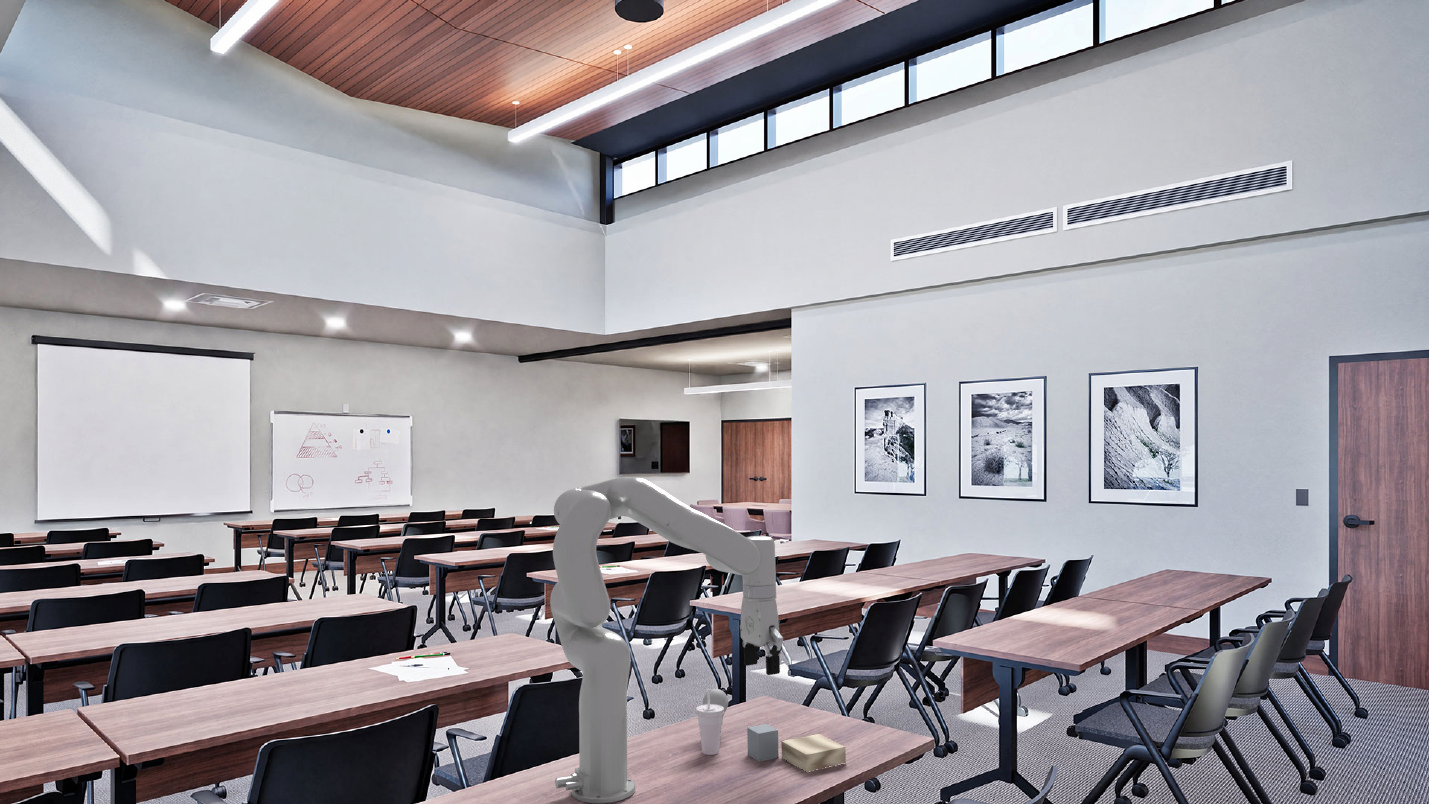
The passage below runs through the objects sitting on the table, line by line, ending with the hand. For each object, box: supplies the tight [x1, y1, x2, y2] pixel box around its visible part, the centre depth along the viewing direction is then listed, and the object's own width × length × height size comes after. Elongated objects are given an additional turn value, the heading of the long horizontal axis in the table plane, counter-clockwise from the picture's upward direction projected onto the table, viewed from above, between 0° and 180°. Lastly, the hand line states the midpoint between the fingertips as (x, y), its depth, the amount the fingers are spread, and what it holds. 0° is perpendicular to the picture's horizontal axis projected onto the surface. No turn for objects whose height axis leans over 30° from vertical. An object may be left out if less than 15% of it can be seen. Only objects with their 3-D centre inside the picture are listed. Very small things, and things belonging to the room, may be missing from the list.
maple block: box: [780, 733, 847, 773], centre depth 184 cm, size 10×10×4 cm
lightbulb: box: [702, 688, 729, 722], centre depth 201 cm, size 6×6×11 cm
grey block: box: [746, 723, 780, 763], centre depth 187 cm, size 5×5×6 cm
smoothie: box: [695, 688, 725, 756], centre depth 190 cm, size 6×6×14 cm
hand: (761, 669), depth 188 cm, fingers open, 9 cm apart
